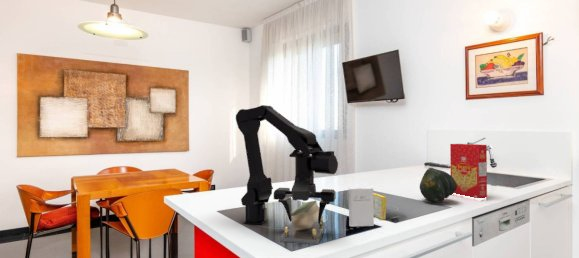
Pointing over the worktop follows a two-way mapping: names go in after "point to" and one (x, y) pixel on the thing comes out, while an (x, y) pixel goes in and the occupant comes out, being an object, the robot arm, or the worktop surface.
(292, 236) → the plate
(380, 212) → the candy box
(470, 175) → the food packaging
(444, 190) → the squash
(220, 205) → the worktop surface
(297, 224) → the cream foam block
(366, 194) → the external hard drive
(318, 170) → the robot arm
